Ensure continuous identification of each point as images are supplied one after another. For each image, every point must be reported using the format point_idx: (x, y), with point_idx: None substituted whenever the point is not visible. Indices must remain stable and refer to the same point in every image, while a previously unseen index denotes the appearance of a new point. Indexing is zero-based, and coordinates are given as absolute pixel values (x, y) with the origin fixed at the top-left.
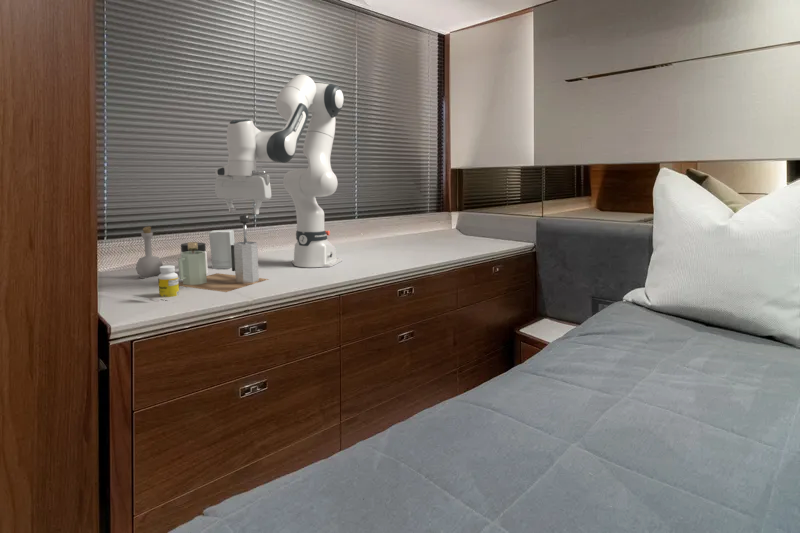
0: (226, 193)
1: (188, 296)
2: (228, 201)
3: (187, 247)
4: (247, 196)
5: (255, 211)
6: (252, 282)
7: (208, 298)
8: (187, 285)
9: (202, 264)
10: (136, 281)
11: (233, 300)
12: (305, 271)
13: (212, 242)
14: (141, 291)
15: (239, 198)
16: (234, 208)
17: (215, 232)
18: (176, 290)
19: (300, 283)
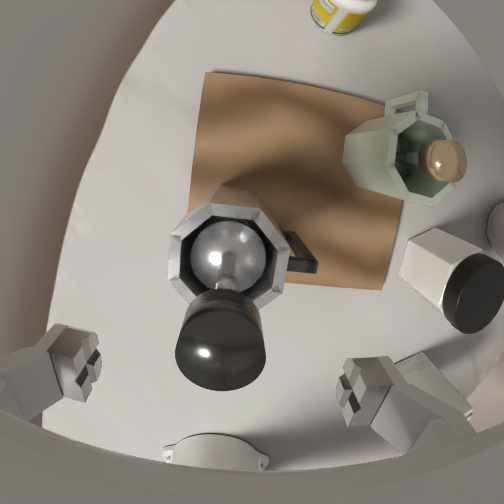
0: (500, 481)
1: (305, 43)
2: (435, 426)
3: (484, 259)
4: (17, 455)
5: (47, 333)
6: (198, 202)
7: (237, 38)
8: (368, 114)
9: (368, 149)
10: (501, 174)
11: (159, 46)
12: (183, 407)
13: (452, 394)
14: (440, 77)
15: (223, 474)
16: (351, 405)
17: None
18: (314, 3)
19: (103, 285)
